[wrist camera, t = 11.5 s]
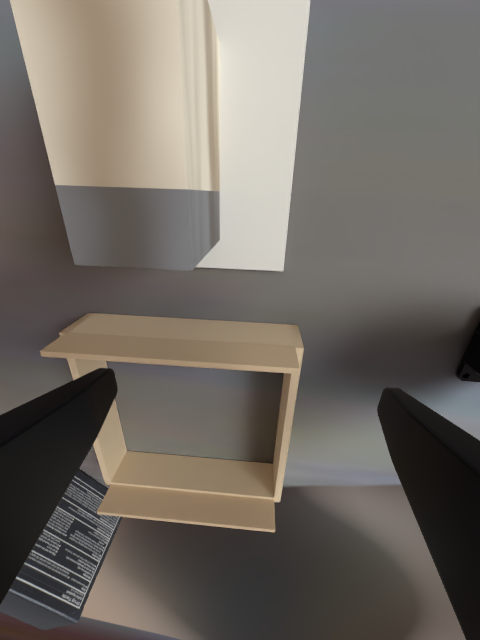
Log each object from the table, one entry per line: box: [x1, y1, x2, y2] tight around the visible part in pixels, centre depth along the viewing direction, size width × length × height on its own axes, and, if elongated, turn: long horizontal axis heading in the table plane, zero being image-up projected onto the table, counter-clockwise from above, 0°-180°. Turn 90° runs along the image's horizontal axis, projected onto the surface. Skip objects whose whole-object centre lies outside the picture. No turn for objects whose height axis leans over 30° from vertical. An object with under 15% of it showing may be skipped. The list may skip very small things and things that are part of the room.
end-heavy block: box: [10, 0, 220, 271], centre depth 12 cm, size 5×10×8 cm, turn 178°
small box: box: [0, 470, 122, 630], centre depth 28 cm, size 11×6×10 cm, turn 39°
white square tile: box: [196, 0, 310, 271], centre depth 16 cm, size 14×14×1 cm
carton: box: [40, 313, 304, 532], centre depth 22 cm, size 17×17×6 cm
